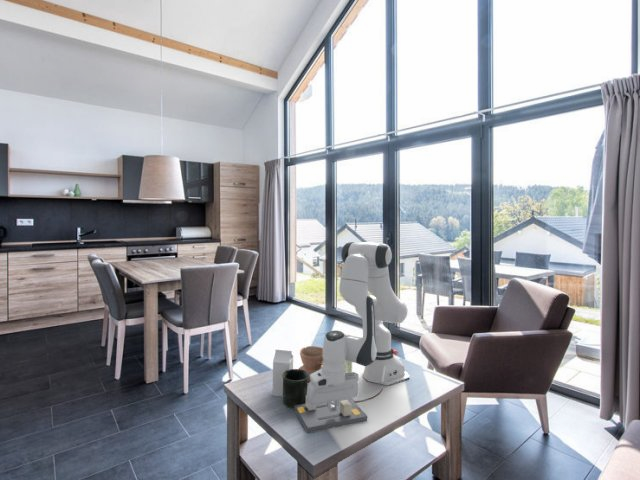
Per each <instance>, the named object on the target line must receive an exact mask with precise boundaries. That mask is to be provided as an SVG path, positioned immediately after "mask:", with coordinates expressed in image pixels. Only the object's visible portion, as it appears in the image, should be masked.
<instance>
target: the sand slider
mask: <svg viewBox="0 0 640 480" xmlns="http://www.w3.org/2000/svg"><path fill="white" fill-rule="evenodd" d="M351 408H352V405H351V404H350V403H349V401H348V400H343V401H340V412H341V413H342V414H343V416H349V415H351Z"/></svg>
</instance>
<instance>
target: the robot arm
mask: <svg viewBox="0 0 640 480" xmlns="http://www.w3.org/2000/svg"><path fill="white" fill-rule="evenodd" d="M340 252H341V254H340V256H341V260H342V262H343V266H342V270H341V274H340V280H339V286H338V287H339V289H338V291H339V294H340V296H341V297H342V299H343V300H344V301H345V302H347V303H348V304H350V305H351V306H353V307H354V309H355V312H356V313H357V315H359V316H360V318H361V319H362V337H359V336H356V335H350V334H345V333H344V332H342V331H341V330H331V331H328V332H327V333H326V334H325V335H324V339H323V345H322V348H323V365H322V368H321V369H320V370H318V371H316V372H314V373H312V374H310V380H311V381H310V382H309V384H308V386H307V401H308V402H309V403H310V404H311V405H313V404H319V403H324V402H326V403H327V405H328V410H329V412H332V411H337V406H338V405H339V403H340V400H341V399H346V398H351V399H353V398H355V397H358V395H359V393H360V392H359V389H360V388H359V374H358V373H357V372H355V371H352V372H346V371H347V370H346V369H347V367H346V361H347V362H350V363H355V364H357V365H360V366H363V367H364V369H363V373H362V377H363V379H364V380H366V381H368V382H370V383H375V384H380V383H381V385H383V386H390V384H391V385H394V384H396V383H395V382H397V383H399V382H398V381H400V382H402V381H401V380H404V379H407V378H409V379H410V374H409V373H408V372H407V370H405V365H404V363H402V361H401V359H399V358H397V357H396V356H398V352H399V351H398V350H396V349H393V348H392V347H391V345H392V334H391V331H390V330H389V329H388V327H386V326H385V324H383V322H386V323H390V324H402V323H403V322H404V321H405V320H406V319H407V316H408V308H407V305H406V303H405V302H404V301H402V300H401V299H400V298H399V297H398V296H397V295H396V293H395V292H394V290H393V288H392V285H391V280H390V278H391V277H390V271H389V266H390V264H391V262H392V258H393V253H392V249H391V247H390V246H389V244H386V243H381V242H379V243H378V242H372V241H359V242H355V241H349V242H346V243H345V244H344V245H343V246H342V248H341V251H340ZM407 380H408V379H407ZM404 381H405V380H404ZM393 383H394V384H393ZM331 401H335V403H334V405H330V404H331Z"/></svg>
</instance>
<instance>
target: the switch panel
mask: <svg viewBox="0 0 640 480" xmlns="http://www.w3.org/2000/svg"><path fill="white" fill-rule="evenodd" d="M343 400H348V401H349V403H350V404H351V405H352V408H351V415H349V416H343V414H342V413H341V412H340V403H339V405H338V406H337V411H332V412H329V410H328V405H327V403H326V402H324V403H319V404H316V409H315V410H308V408H307V407H306V404H300V405H295V406H294V409H293V410H294V412H295V414H296V416H297V418H299V420H300V422H301V424H302V425H303V427H304V429H305V430H306V432H307V434H311V433H315V432H319V431H320V432H321V431H324V430H329V429H335V428H341V427H345V426H348V425H349V426H350V425H354V424H361V423H364V422H368V415H367V414H366V413H365V411H364V410H362V408H361V407H360V406H359V405H358V404H357V403H356V402H355V401H354V400H353V398H346V399H341V400H340V401H343ZM334 403H335V401H331V404H330V405H334Z"/></svg>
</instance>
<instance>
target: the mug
mask: <svg viewBox="0 0 640 480" xmlns="http://www.w3.org/2000/svg"><path fill="white" fill-rule="evenodd" d="M282 377H283V397H282V403H283V405H284V406H285V407H286V408H288V409H293V410H294V406H295V405H300V404H306V396H307V388H308V377H309V374H308V373H307V372H306V371H304V370H300V369H299V368H293V369H290V370H289V371H288V370H287V371H285V372H283V374H282Z"/></svg>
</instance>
